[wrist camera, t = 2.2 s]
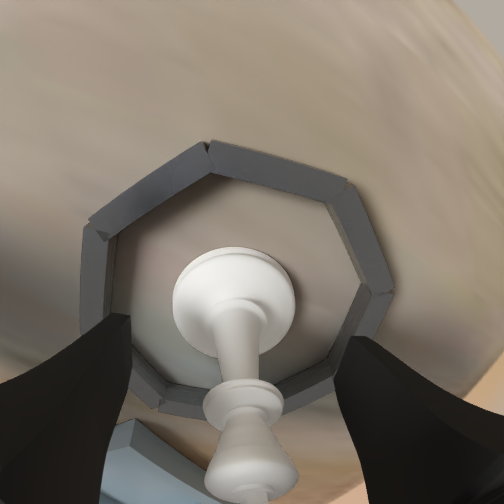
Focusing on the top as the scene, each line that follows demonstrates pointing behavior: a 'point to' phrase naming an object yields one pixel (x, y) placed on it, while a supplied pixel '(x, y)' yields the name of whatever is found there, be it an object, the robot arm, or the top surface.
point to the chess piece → (239, 366)
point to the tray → (150, 471)
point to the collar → (259, 172)
